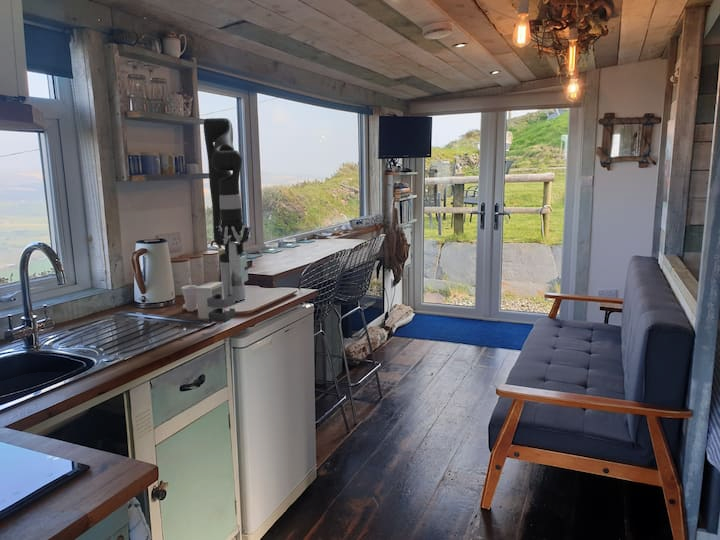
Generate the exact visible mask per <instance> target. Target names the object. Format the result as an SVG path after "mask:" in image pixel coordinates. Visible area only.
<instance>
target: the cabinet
mask: <svg viewBox="0 0 720 540" xmlns="http://www.w3.org/2000/svg"><path fill="white" fill-rule="evenodd" d="M197 286H198V287H196V298H197V316H198V319H204V320H205V319H208V321H209V322H223V323H225V322H226V323H227V322H228V321H230V320H233V318H235V317H236V309H235V308H229V311H228V312H226V313H225V312H224V310H225V311H226V308H227V307H229V306H230V305H232V304H234V303H235V302H234V295H229V297H228V298H226V299H224V290H223V282H221V281H208V282H205V283H203V284H201V285H197Z"/></svg>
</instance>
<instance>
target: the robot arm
mask: <svg viewBox="0 0 720 540" xmlns="http://www.w3.org/2000/svg"><path fill="white" fill-rule="evenodd" d="M203 134H204V135H203V136H204V142H205V148H206V154H207V156H206V157H207V165H208V181H209V190H210V197H211V198H210V199H211V207H212V227H213V228H212V229H213V240H214V243H215V244H216V245H217V246H224V252H223V253H221V254H220V255H219V268H220V278H221V279H220V280H221V281H220V282H223V290H224V299H226V298H228V297H229V295H234V301H240V300H243V299H245V298H246V290H245V289H246V288H245V282H243V283H242V285H241V286H231V274H230V262H229V250H228V242H237V243H238V245H237V249H238V254H240V257H242V256H243V253H244V243H246V242H248V240H249V237H250V232H251V229H252V228H251V226H250V225H249V226H248V225H247V226H246V225H244V222H243V214H242V213H243V212H242V200H241V196H240V183H239V181H240V174H241V168H242V165H243V157H242V154H241V153H240V152H239V151H238V150H235V148H234V130H233V124H232V121H231V120H230V119H229V118H226V117H224V118H221V117H218V118H217V117H216V118H215V117H214V118H213V117H212V118H204V121H203ZM231 172H232V173H231ZM242 232H243V234H242ZM245 300H246V299H245ZM243 301H244V300H243ZM240 302H241V301H240Z"/></svg>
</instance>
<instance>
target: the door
mask: <svg viewBox="0 0 720 540" xmlns="http://www.w3.org/2000/svg"><path fill="white" fill-rule="evenodd" d="M237 245H238V243H237V242H228V250H229V262H230V274H231V286H241V285H242V283H243V282H244V283H246V282H247V281H249V273H248V272H249V271H248V270H249V267H248V260H247V258H248V257H247V255H242V257H240V254H238V249H237Z"/></svg>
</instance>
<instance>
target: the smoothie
mask: <svg viewBox="0 0 720 540" xmlns="http://www.w3.org/2000/svg"><path fill="white" fill-rule="evenodd" d="M188 279H189V280H188V281H189V285H188V284H187V285H183V286H181V287H180V288H181V291H182V295H183V298H184V303H185V307H186V312H195V311H194V309H195V308H196V307H197V298H196V287H198V286H199V285H196V284H192V278H191V275H190V276H189V278H188Z"/></svg>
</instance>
